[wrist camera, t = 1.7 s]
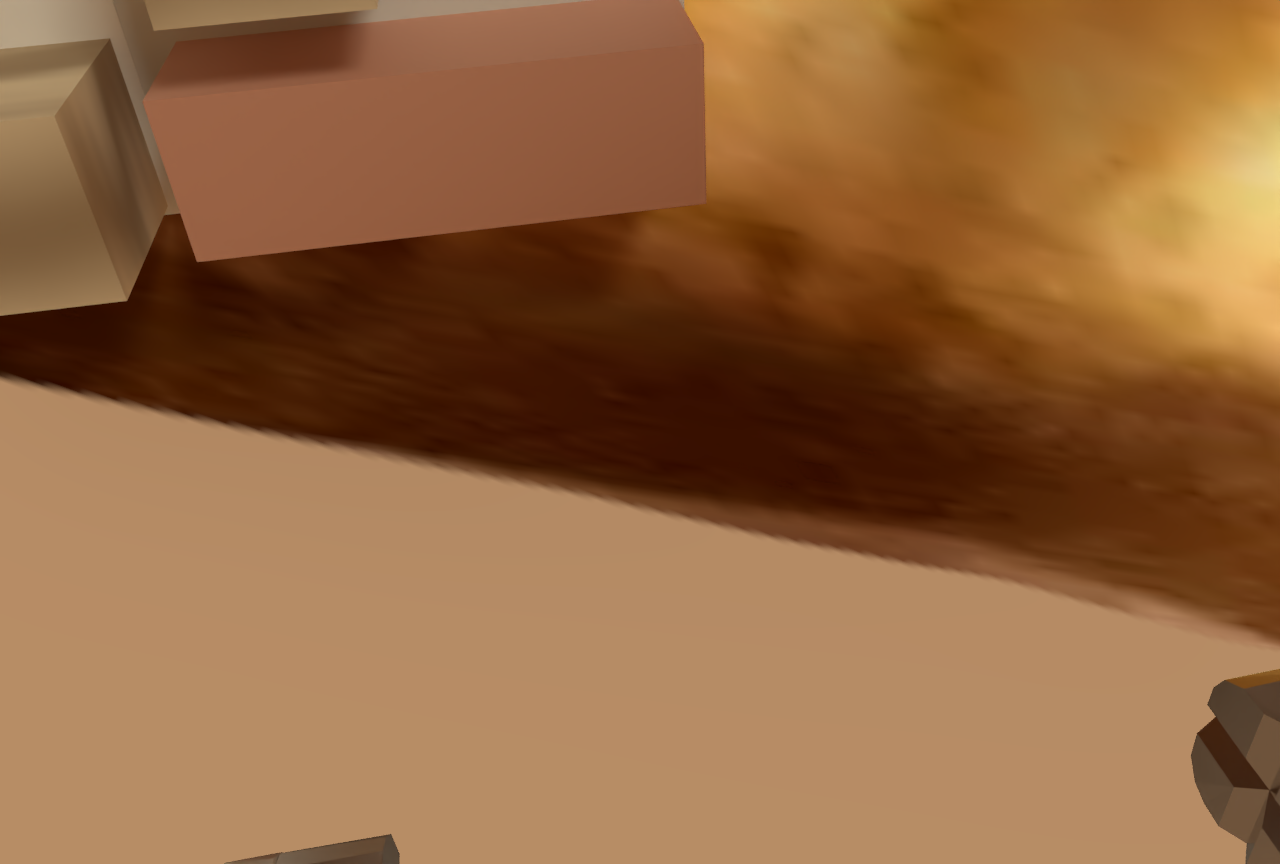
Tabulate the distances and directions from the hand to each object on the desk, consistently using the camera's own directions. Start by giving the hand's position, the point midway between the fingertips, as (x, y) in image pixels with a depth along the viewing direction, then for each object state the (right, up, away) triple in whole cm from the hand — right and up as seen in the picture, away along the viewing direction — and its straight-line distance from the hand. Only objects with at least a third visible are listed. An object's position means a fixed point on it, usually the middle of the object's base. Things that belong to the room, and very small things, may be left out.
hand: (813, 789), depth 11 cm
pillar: (-17, +11, +17) cm, 27 cm away
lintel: (-7, +12, +18) cm, 23 cm away
